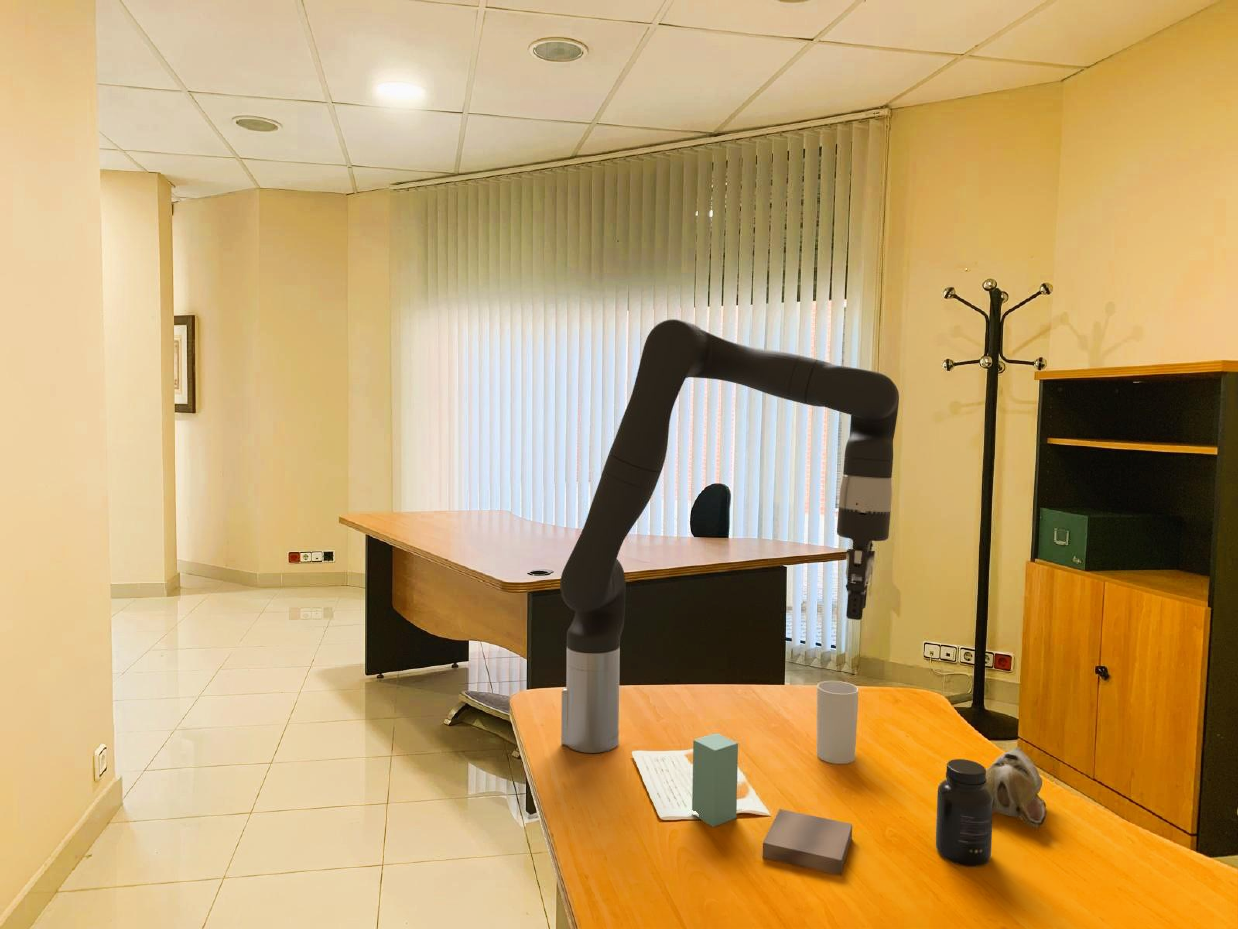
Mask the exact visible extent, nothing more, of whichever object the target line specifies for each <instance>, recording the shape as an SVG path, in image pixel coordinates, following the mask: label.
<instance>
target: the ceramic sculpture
mask: <svg viewBox="0 0 1238 929" xmlns="http://www.w3.org/2000/svg"><path fill="white" fill-rule="evenodd" d="M986 779H987V782H986V785H985V786H986V787H987V788H988V789H989V790H990V792H991V793H992V795H993V812H994V811H995V812H996V813H998V814H1002V815H1004V816H1009V817H1015V818H1017V817H1018V818H1020V819H1021V820H1022V821H1023V823H1025V824H1026V825H1029V826H1030V827H1032V828H1039V827H1041V826H1043V825H1044V822H1045V820H1046V817H1047V813H1048V811H1047V808H1046V807H1047V803H1046V802H1045V801H1044V799H1043V798H1042V797H1040V796H1039V793H1040V791H1041V789H1042V787H1043V778H1042V777H1041V775H1040V773H1039V771H1038V769H1037V766H1036V765H1035V764H1034V762H1033V761H1032V760H1031V758H1030V757H1028V755H1027V754H1026V753H1024V752H1023V750H1022V748H1021V747H1019V746H1016V747H1015V748H1013V749H1012V750H1008V751H1007V752H1003V753H1002V754H1001V755H1000V756H998V757H996V759H995V760H994V761H993V763H992V764H991V765H990V766H989V767H988V768H987V769H986Z"/></svg>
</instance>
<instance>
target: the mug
mask: <svg viewBox="0 0 1238 929" xmlns="http://www.w3.org/2000/svg"><path fill="white" fill-rule="evenodd" d="M816 686H817V687H816V756H817V757H818V759H820V760H822V761H824V762H825V763H830V764H834V765H835V764H836V765H846V764H847V765H848V764H850V763H852V762H854V761H855V759H856V746H857V727H858V726H857V725H858V713H859V712H858V711H859V709H858V708H859V707H858V706H859V688H858V686H857V685H855V684H852V683H850V682H846V681H839V680H826V681H821V682H819V683H817V685H816Z"/></svg>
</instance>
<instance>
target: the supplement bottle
mask: <svg viewBox="0 0 1238 929" xmlns="http://www.w3.org/2000/svg"><path fill="white" fill-rule="evenodd" d="M986 770H987V769H986V767H985V766H983V765H982V763H979V762H976V761H974V760H970V759H964V758H963V759H962V758H956V759H951V760H949V761H947V763H946V771H945V779H944V780H942V781H941V782H940V784H938V787H937V795H936V796H937V799H936V800H937V801H936V820H935V822H936V826H935V827H936V828H935V847H936V850H937V852H938V853H939V855H941V856H942V858H944V859H945V860H947V861H949V862H951V863H952V864H956V865H959V866H960V865H961V866H964V867H980V866H983V865H984V866H985V865H986V864H987V863H988V862H989V861H990V859H991V856H992V842H993V841H992V840H993V839H992V838H993V823H994V822H993V821H994V820H993V819H994V818H993V816H994V810H993V795H992V793H991V792H990V790H989V789H988V788H987V787H986V786H985V785H986V782H987V779H986Z"/></svg>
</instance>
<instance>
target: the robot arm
mask: <svg viewBox="0 0 1238 929" xmlns="http://www.w3.org/2000/svg"><path fill="white" fill-rule="evenodd" d="M688 378H695V379H709V380H717V381H725V382H729V383H733V384H736V385H737V384H738V385H742V386H744V387H748V388H750V389H754V390H756V391H758V392H762V393H764V394H767V395H771V396H773V397H777V398H780V399H784V400H787V401H791V402H795V403H800V404H803V405H808V406H812V407H821V408H822V407H823V408H826V409H827V408H828V409H831V410H833V411H835V412H836V411H837V412H840V413H842V414H846V415H850V423H849V425H850V426H849V437H848V440H847V441H846V444H845V449H844V458H843V459H844V461H843V470H842V479H841V480H842V481H841V484H840V490H839V500H838V512H837V526H836V534H837V536H840V537H842V538H846V539H850V540H851V541H852V548H851V547H848V549H846V554H845V558H846V559H845V561H846V568H845V578H846V584H845V588H846V592H847V605H846V618H847V619H849V620H855V621H856V620H857V621H860V620H862V618H863V611H864V609H865V608H866V607H867V606H866V605H867V596H868V595H867V593H868V585H869V583H870V581H871V576H872V574H873V568H874V566H873V565H874V563H875V558H876V550H873V549H872V547H873V546H874V544H873V542H884V541H887V540H888V539H889V536H890V524H891V512H892V501H893V500H892V499H893V489H892V488H893V486H892V481H893V480H892V478H893V464H894V439H895V438H894V437H895V434H896V433H895V432H896V428H897V427H896V426H897V420H898V412H899V407H900V406H899V404H900V394H899V393H900V392H899V390H898V388H897V385H896V384H895V383H894V381H892V379H891V378H890V377H889V376H887V375H886V374H883V373H881V372H877V371H872V370H868V369H862V368H857V367H852V366H851V367H849V366H844V365H836V364H834V363H830V362H827V361H824V360H822V359H817V358H812V357H808V356H804V355H800V354H795V353H790V352H785V351H779V350H772V349H765V348H759V347H753V346H747V345H743V344H740V343H737V342H733V341H730V340H727V339H724V338H722V337H720V336H717V335H714V334H713V333H711V332H708V331H706V330H703V329H701V328H700V327H699V326H698V325H696V324H694V323H690V322H689V321H685V320H683V319H678V318H668V319H665V320H662V321H661V322H659V323H657V324H656V325H654V327H653V328H652V329H651V330H650V332H649V334H648V335H647V337H646V340H645V343H644V345H643V350H642V353H641V357H640V360H639V366H638V369H637V374H636V377H635V381H634V386H633V388H632V392H631V396H630V398H629V402H628V403H627V406H626V409H625V411H624V413H623V416H622V419H621V420H620V424H619V427H618V428H617V432H616V434H615V437H614V439H613V442H612V444H611V447H610V450H609V452H608V456H607V458H606V460H605V463H604V466H603V469H602V471H601V475H600V479H599V482H598V484H597V486H596V490H595V493H594V496H593V499H592V502H591V504H590V508H589V510H588V513H587V516H586V519H585V522H584V525H583V528H582V530H581V533H580V534H579V536H578V538H577V541H576V543H575V545H574V548H572V551H571V553H570V555H569V557H568V559H567V562H566V564H565V566H564V568H563V570H562V572H561V575H560V581H559V589H560V594H561V597H562V599H563V601H564V603H565V604H566V605H567V607H568V608H569V609H571V611H572V610H573V611H575V613H574V617H573V620H572V622H571V624H570V626H569V627H568V629H567V632H566V681H565V682H566V687H564V688H563V689H562V691H561V726H560V731H561V736H560V737H561V740H560V743H561V745H565V746H566V747H568V748H569V749H572V750H573V751H576V752H582V753H588V754H593V753H594V754H595V753H604V752H605V753H606V752H608V751H610V750H614V749H615V748H616V747H617V746H618V745H619V741H620V739H619V737H620V736H619V735H620V728H619V724H620V654H621V652H620V648H621V647H620V645H621V642H620V641H621V635H622V632H623V630H624V624H625V611H626V591H627V590H626V588H627V587H626V584H627V583H626V575H625V571H624V567H623V565H622V564H621V562H620V561H619V560H618V555H619V554H620V553H619V552H620V551H621V548H622V545H623V543H624V542H625V540H626V537H627V536H628V534H629V533H630V531H631V529H632V528H633V527H634V526H635V524H636V522H637V521H638V520H639V518H640V517H641V515H642V513H643V512H644V510H646V509H645V508H646V507H647V506H648V504H649V502H650V500H651V498H652V497H653V496H652V495H653V493H654V492H655V489H656V487H657V484H658V482H659V479H660V476H661V473H662V471H663V467H664V465H665V460H666V456H667V451H668V444H669V431H670V423H671V416H672V412H673V408H674V406H675V403H676V401H677V398H678V396H679V395H680V391H681V389H682V386H683V384H684V383H685V381H686V379H688Z"/></svg>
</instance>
